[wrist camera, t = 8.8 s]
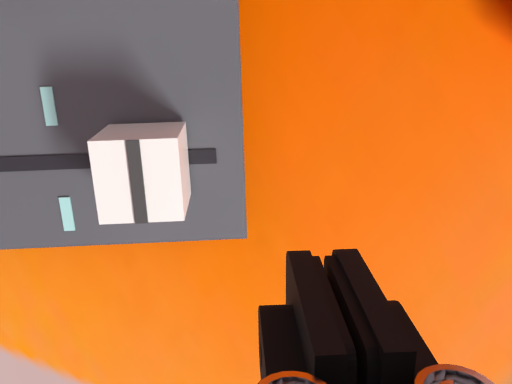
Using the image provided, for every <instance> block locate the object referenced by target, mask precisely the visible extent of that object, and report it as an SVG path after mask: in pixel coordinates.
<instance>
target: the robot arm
mask: <svg viewBox="0 0 512 384" xmlns="http://www.w3.org/2000/svg"><path fill="white" fill-rule="evenodd" d="M258 318H259V357H260V373H261V380H260V382H259V383H258V384H494V383H493V382H491V381H490V380H489V379H488V378H487V377H485V376H483V375H481V374H479V373H478V372H476V371H474V370H471V369H468V368H465V367H462V366H457V365H450V364H438V363H437V361H436V360H435V358H434V356H433V355H432V353H431V352H430V350H429V348H428V347H427V345H426V344H425V342H424V340H423V339H422V337H421V336H420V334H419V332H418V331H417V329H416V328H415V326H414V325H413V323H412V321H411V320H410V318H409V317H408V315H407V313H406V312H405V310H404V309H403V307H402V305H401V304H400V303H399V302H398V301H395V300H393V301H387V299H386V298H385V296H384V294H383V292H382V291H381V289H380V287H379V286H378V284H377V282H376V281H375V279H374V277H373V275H372V274H371V272H370V270H369V269H368V267H367V265H366V263H365V262H364V260H363V258H362V257H361V255H360V253H359V251H358V250H357V249H338V250H333V252H332V256H325V258H324V267H323V265H322V262H321V260H320V257H319V256H312V255H311V252H310V250H309V251H287V254H286V305H264V306H259V311H258Z"/></svg>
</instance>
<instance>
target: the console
mask: <svg viewBox="0 0 512 384" xmlns="http://www.w3.org/2000/svg"><path fill="white" fill-rule="evenodd" d="M159 122H186V132H187V146H188V159H189V172H190V185H191V196H190V200H189V204H188V208H187V212H186V216H185V221H170V222H148V223H143V224H135V223H124V224H101V225H99V220H98V213H97V206H96V199H95V192H94V186H93V179H92V172H91V165H90V158H89V151H88V144H87V141H88V140H90V139H91V138H92V137H93V136H95V135H96V134H97V133H98V132H100V131H101V130H102V129H104V128H105V127H106V126H107V125H109V124H131V123H159ZM243 238H247V226H246V198H245V171H244V144H243V116H242V89H241V61H240V34H239V6H238V0H0V249H22V248H44V247H66V246H88V245H110V244H132V243H154V242H176V241H199V240H221V239H243Z"/></svg>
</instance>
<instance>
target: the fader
mask: <svg viewBox="0 0 512 384" xmlns="http://www.w3.org/2000/svg"><path fill="white" fill-rule="evenodd" d="M87 144H88V151H89V158H90V165H91V172H92V179H93V186H94V192H95V199H96V206H97V213H98V220H99V225H101V224H124V223H135V224H143V223H148V222H170V221H185V216H186V212H187V208H188V204H189V200H190V196H191V185H190V172H189V159H188V146H187V132H186V122H159V123H131V124H109V125H107V126H106V127H105V128H104V129H102V130H101V131H100V132H98V133H97V134H96V135H95V136H93V137H92V138H91V139H90V140H88V141H87Z"/></svg>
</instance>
